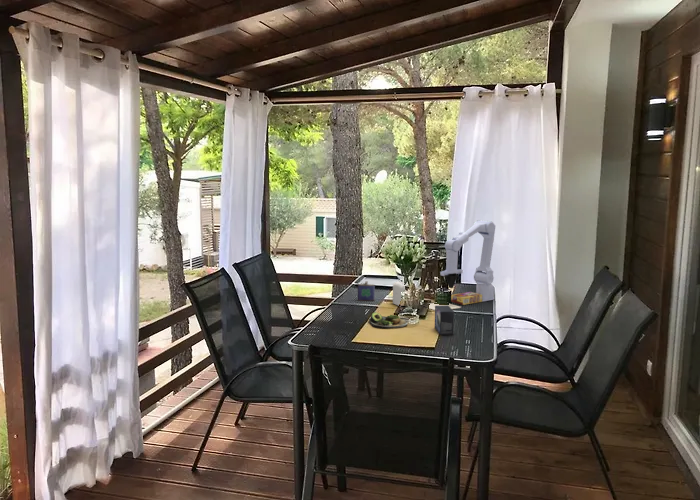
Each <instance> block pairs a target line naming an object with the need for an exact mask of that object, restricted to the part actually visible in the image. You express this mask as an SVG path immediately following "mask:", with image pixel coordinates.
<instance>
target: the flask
mask: <svg viewBox="0 0 700 500" xmlns="http://www.w3.org/2000/svg"><path fill="white" fill-rule="evenodd" d="M368 282H369V281H365V282H363V283H358V284H357V301H359V302H365V301H366V302H374V301H375V300H376V299H375V287H376V286H375V285H376V284H374V283H368Z"/></svg>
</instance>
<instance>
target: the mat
mask: <svg viewBox="0 0 700 500" xmlns="http://www.w3.org/2000/svg"><path fill="white" fill-rule="evenodd" d="M434 303H435V302H430V303H429V304H430V305H429V310H431V309H432V310H433V311H435V306H447V305H439V304H434ZM448 306H449V307H450V308H451V309H452V310H456V309H461V308H462V306H459V305H456V304H452V303H449V305H448ZM432 310H431V311H432Z"/></svg>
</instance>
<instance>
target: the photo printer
mask: <svg viewBox="0 0 700 500" xmlns="http://www.w3.org/2000/svg"><path fill="white" fill-rule="evenodd" d="M404 284H405V283H404V282H402V281H396V282H394V283H393V284H392V304H394V305H396V306H399V304H400V301H401V292H402V291H403V290H405V286H407V285H406V284H405V285H404ZM399 307H400V306H399Z"/></svg>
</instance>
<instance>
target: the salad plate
mask: <svg viewBox="0 0 700 500" xmlns="http://www.w3.org/2000/svg"><path fill="white" fill-rule="evenodd" d="M409 320H410V318H408V317H401V315H398V316H397V314H395V315H394V314H389V315H387V316H386V315H385V316H382V315H381V314H380V313H379V312H372V313H371V315H370V317H369V318H368V322H369V324H370V326H372V327H373V328H376V329H387V330H388V329H399V328H404V327H406V326H408V322H407V321H409Z"/></svg>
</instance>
